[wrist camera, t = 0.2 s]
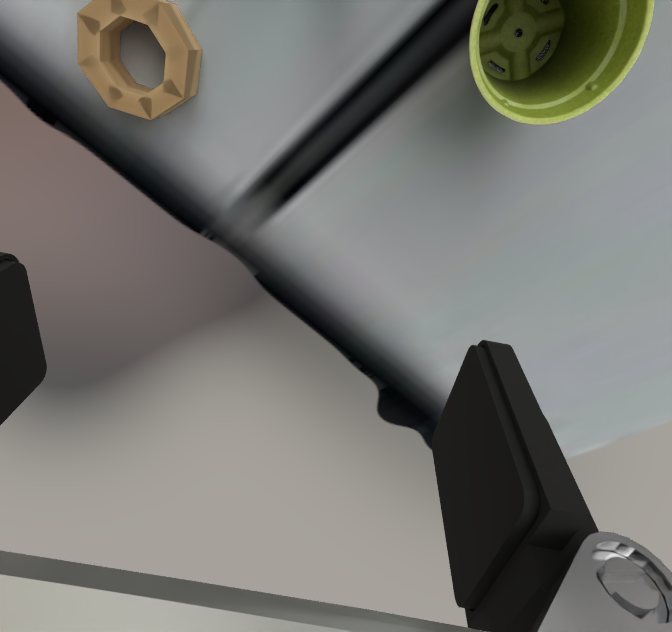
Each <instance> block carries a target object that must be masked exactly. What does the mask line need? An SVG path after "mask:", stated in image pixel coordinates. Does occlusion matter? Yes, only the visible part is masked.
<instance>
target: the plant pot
mask: <svg viewBox="0 0 672 632" xmlns="http://www.w3.org/2000/svg"><path fill="white" fill-rule="evenodd" d="M494 4H498V7H497V9H496V10H495V11H494V12H493V14H492V15H491V17H490V19H489V22H488V24H487V25H484V23H483V22H484V18H485V16H486V15H487V13H488V11H489V10H490V8H491V7H492V6H493V5H494ZM653 10H654V0H548V4H544V3H543V2H542V1H541V0H478V3H477V5H476V9H475V12H474V15H473V19H472V23H471V29H470V36H469V59H470V66H471V71H472V74H473V78H474V80H475V83H476V85H477V87H478V89H479V91H480V93H481V94H482V96H483V97H484V99H485V100H486V101H487V102H488V104H489V105H490V106H491V107H492V108H494V109H495V110H496V111H497V112H499V113H500V114H502V115H503V116H505V117H507V118H509V119H511V120H514V121H516V122H520V123H524V124H531V125H547V124H553V123H558V122H562V121H565V120H568V119H571V118H574V117H576V116H578V115H581V114H583V113H585V112H586V111H588V110H590V109H591V108H593V107H594V106H596V105H597V104H598V103H600V102H601V101H602V100H603V99H605V98H606V97H607V96H608V95H609V94H610V93H611V92H612V91H613V90H614V89H615V88H616V87H617V86H618V85H619V84H620V83H621V82H622V80H623V79H624V78H625V76H626V75H627V74H628V72H629V70H630V69H631V68H632V66H633V65H634V63H635V61H636V59H637V58H638V56H639V54H640V52H641V50H642V48H643V45H644V42H645V40H646V37H647V34H648V31H649V29H650V25H651V21H652V15H653ZM517 29H521V30H522V35H521V36H520V37H516V36H515V31H516V30H517ZM549 40H550V46H549V48H548V51H547V52H546V54H545V55H544V56H543V58H542V59H540V60H539V61H537V60H536V57H537V56H538V55H539V54H540V52H541V51H542V50H543V48H544V47H545V45H546V44H547V43H548V41H549ZM490 60H492V61H493V62H494V63H495V64H496V65H498V66H499V67H501V68H503V69H505V71H504V72H502V73H500V72H498V71H496V70H494V69H492V68H491V67H490V66H489V61H490Z"/></svg>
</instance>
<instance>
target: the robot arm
mask: <svg viewBox="0 0 672 632" xmlns="http://www.w3.org/2000/svg"><path fill="white" fill-rule="evenodd" d="M46 369H47V365H46V360H45V355H44V351H43V346H42V341H41V337H40V332H39V327H38V323H37V318H36V314H35V309H34V304H33V299H32V295H31V290H30V285H29V281H28V276H27V271H26V269H25V267H24V265H23V264H21V263H19V261H18V259H17V258H16V257H15V256H14V255H12V254H8V253H2V252H0V425H1V424H2V423H3V422H4V421H5V420H6V419H7V418H8V417H9V416H10V415H11V414H12V412H13V411H14V410H15V409H16V408H17V407H18V406H19V405H20V404H21V403H22V402H23V401H24V400H25V399H26V398H27V397H28V396H29V395H30V394H31V393H32V392H33V390H34V389H35V388H36V387H37V386H38V385H39V384H40V383H41V382H42V381H43V379H44V377H45V374H46ZM432 451H433V458H434V464H435V471H436V477H437V484H438V490H439V497H440V503H441V510H442V517H443V523H444V530H445V537H446V543H447V550H448V556H449V563H450V569H451V576H452V582H453V589H454V595H455V600H456V603H457V605H458V606H459V607H462V608H465V612H466V618H467V624H468V628H466V627H461V626H455V625H450V624H444V623H439V622H433V621H427V620H422V619H417V618H411V617H405V616H400V615H395V614H389V613H384V612H378V611H373V610H367V609H361V608H355V607H349V606H343V605H337V604H330V603H325V602H319V601H312V600H306V599H300V598H294V597H288V596H282V595H276V594H270V593H263V592H257V591H251V590H245V589H239V588H232V587H227V586H221V585H214V584H208V583H202V582H196V581H190V580H184V579H177V578H171V577H165V576H158V575H152V574H145V573H139V572H133V571H127V570H121V569H114V568H108V567H102V566H95V565H88V564H82V563H76V562H70V561H63V560H57V559H51V558H44V557H38V556H31V555H25V554H18V553H12V552H6V551H0V632H484V631H487V632H672V572H670V570H669V569H668V568H667V567H666V566H665V565H664V564H663V563H662V561H660V559H658V558H657V557H656V556H655V555H653V554H652V553H651V552H650V551H649V550H647V549H646V548H645V547H643V546H642V545H640V544H638V543H636V542H635V541H633V540H631V539H629V538H627V537H624V536H621V535H618V534H616V533H611V532H599V531H598V529H597V527H596V524H595V522H594V520H593V518H592V516H591V514H590V511H589V509H588V507H587V505H586V503H585V501H584V499H583V497H582V494H581V492H580V490H579V488H578V486H577V484H576V482H575V479H574V477H573V475H572V473H571V471H570V469H569V466H568V464H567V462H566V460H565V458H564V456H563V453H562V451H561V449H560V447H559V445H558V443H557V441H556V438H555V436H554V434H553V432H552V430H551V428H550V425H549V423H548V421H547V420H546V418H545V417H544V415H543V413H542V411H541V409H540V407H539V405H538V403H537V400H536V398H535V396H534V394H533V392H532V390H531V387H530V385H529V383H528V381H527V379H526V377H525V374H524V372H523V370H522V368H521V366H520V364H519V361H518V359H517V357H516V355H515V353H514V350H513V348H512V347H511V346H510V345H508V344H502V343H497V342H491V341H486V340H482V341H481V342H480V343H479V344H478V346H476V345H472V346H470V348H469V349H468V351H467V354H466V356H465V359H464V361H463V364H462V366H461V368H460V371H459V373H458V376H457V378H456V381H455V383H454V386H453V388H452V390H451V393H450V395H449V398H448V400H447V403H446V405H445V407H444V410H443V412H442V415H441V417H440V420H439V422H438V425H437V427H436V429H435V432H434V435H433V440H432ZM480 630H481V631H480Z"/></svg>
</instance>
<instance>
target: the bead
mask: <svg viewBox="0 0 672 632" xmlns="http://www.w3.org/2000/svg"><path fill="white" fill-rule="evenodd" d="M134 21H138V22H141V23H144V24H147V25H148V26H149V27H150V29H151V30H152V32H153V34H154V35H155V37H156V38H157V40H158V42H159V43H160V45H161V46H162V48H163V50H164V51H165V53H166V58H165V71H164V82H163V83H162V84H161V85H159V86H158V87H156V88H155V89H150V88H147V87H144V86H141V85H138V84H136V83H135V81H134V80H133V78H132V77H131V75H130V74H129V72H128V71H127V69H126V68H125V66H124V65H123V63H122V62H121V61H120V37H121V31H122V30H123V29H125V28H126V27H127V26H129V25H130V24H131V23H132V22H134ZM77 25H78V65H79V66H80V68H81V69H82V70H83V72H84V73H85V75H86V76H87V77H88V79H89V80H90V81H91V83H92V84H93V86H94V87H95V88H96V90H97V91H98V93H99V94H100V95H101V97H102V98H103V100H104V101H105V102H106V104H107V105H108V106H109V107H111V108H114V109H117V110H120V111H123V112H127V113H130V114H133V115H136V116H139V117H142V118H145V119H149V120H153V119H155V118H158V117H161V116H163V115H166V114H168V113H169V112H171V111H172V110H174V109H175V108H177V107H178V106H180V105H181V104H183V103H184V102H186V101H187V100H189V99H190V98H192V97H193V96H195V95H196V94H197V91H198V82H199V74H200V65H201V57H202V48H201V46H200V45H199V43H198V41H197V40H196V38H195V36H194V34H193V33H192V31H191V29H190V28H189V26H188V24H187V23H186V21H185V19H184V18H183V16H182V14H181V12H180V11H179V9H178V7H177V6H176V4H173V3H170V2H167V1H164V0H93V1H92V2H90V3H89V4H88V5H87V6H85V7H84V8H83V9H82V10H81V11H79V12H78V13H77Z"/></svg>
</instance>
